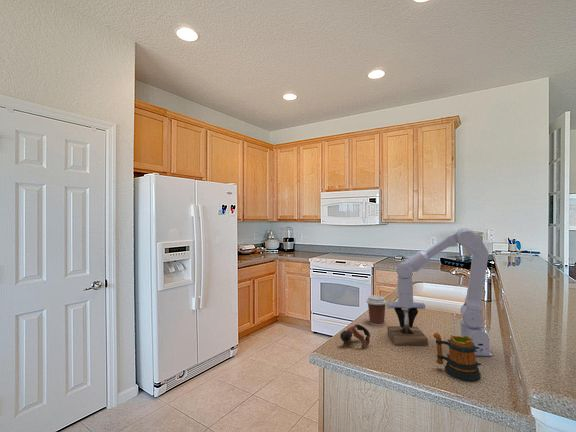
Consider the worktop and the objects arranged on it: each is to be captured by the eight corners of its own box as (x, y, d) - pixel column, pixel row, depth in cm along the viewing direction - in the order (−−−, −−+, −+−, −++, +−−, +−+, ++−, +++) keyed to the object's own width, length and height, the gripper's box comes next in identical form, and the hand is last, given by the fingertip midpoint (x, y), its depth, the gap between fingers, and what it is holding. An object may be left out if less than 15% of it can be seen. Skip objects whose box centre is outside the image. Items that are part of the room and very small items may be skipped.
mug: (479, 368, 93) (478, 332, 93) (484, 385, 84) (483, 345, 84) (433, 361, 99) (432, 326, 99) (434, 375, 90) (433, 338, 90)
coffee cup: (388, 321, 138) (388, 295, 138) (385, 327, 130) (384, 300, 130) (369, 318, 142) (368, 293, 142) (364, 324, 134) (364, 298, 134)
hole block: (427, 345, 111) (427, 337, 111) (395, 345, 112) (394, 337, 112) (417, 333, 122) (416, 326, 123) (387, 333, 124) (387, 325, 124)
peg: (410, 334, 116) (410, 311, 116) (402, 333, 116) (402, 311, 116) (409, 331, 119) (408, 309, 119) (401, 330, 119) (400, 308, 119)
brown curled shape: (353, 338, 121) (363, 322, 119) (367, 356, 113) (377, 340, 111) (331, 336, 115) (341, 320, 113) (343, 356, 107) (354, 339, 105)
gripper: (420, 290, 121) (421, 323, 120) (384, 290, 122) (385, 322, 122) (426, 294, 114) (427, 329, 113) (388, 294, 115) (389, 329, 115)
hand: (406, 326), depth 117 cm, fingers closed on peg, 3 cm apart
